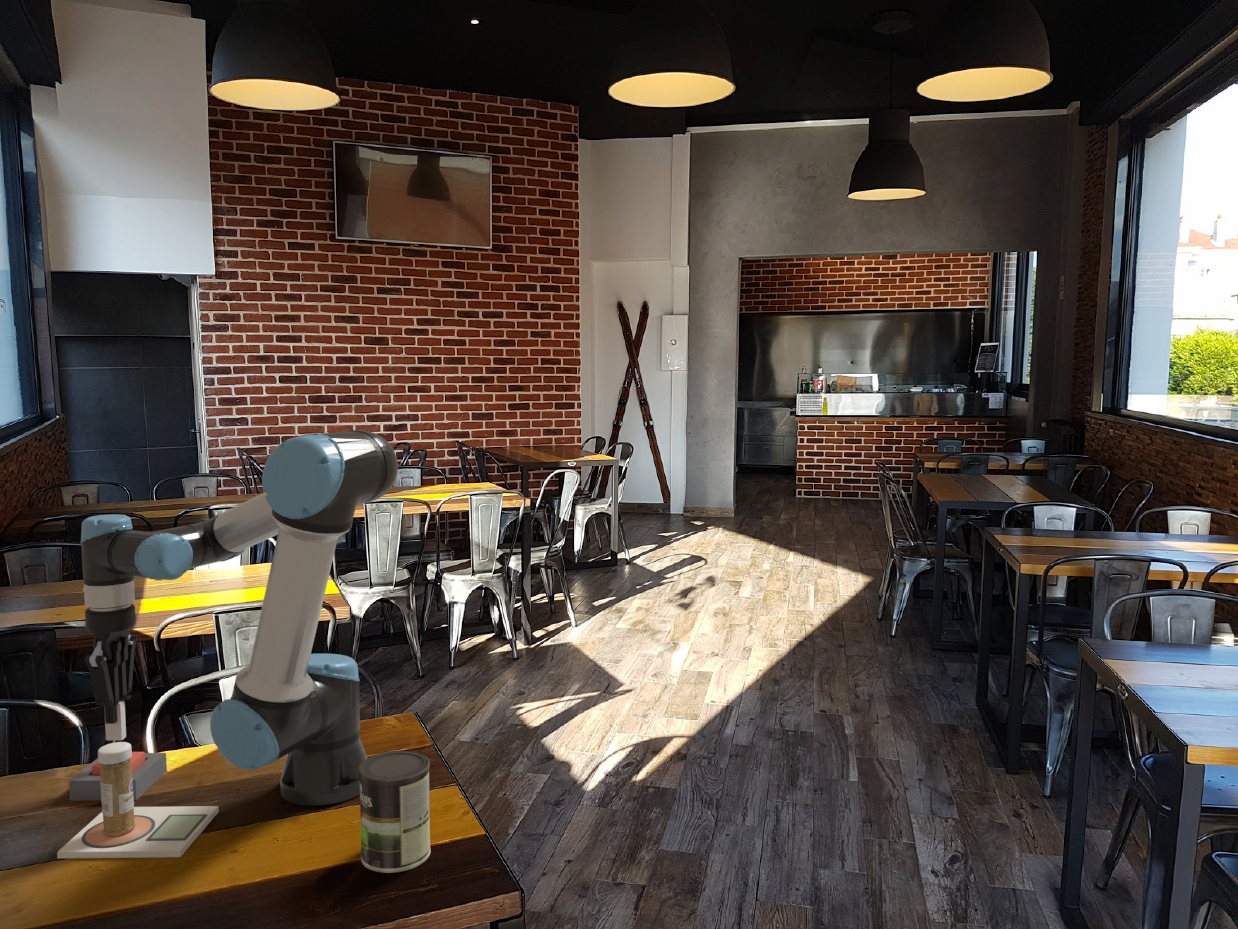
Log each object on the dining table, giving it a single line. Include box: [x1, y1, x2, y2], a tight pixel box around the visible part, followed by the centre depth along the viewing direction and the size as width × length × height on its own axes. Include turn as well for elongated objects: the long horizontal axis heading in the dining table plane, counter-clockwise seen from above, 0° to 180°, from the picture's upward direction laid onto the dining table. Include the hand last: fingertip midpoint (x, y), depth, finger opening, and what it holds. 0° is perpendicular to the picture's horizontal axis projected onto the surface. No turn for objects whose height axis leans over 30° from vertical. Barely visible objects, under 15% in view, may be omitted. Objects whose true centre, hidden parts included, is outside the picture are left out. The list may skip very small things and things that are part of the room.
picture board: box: [56, 805, 220, 859], centre depth 143 cm, size 18×14×1 cm
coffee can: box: [358, 750, 432, 874], centre depth 137 cm, size 10×10×14 cm
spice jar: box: [97, 741, 136, 836], centre depth 142 cm, size 5×5×14 cm
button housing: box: [68, 752, 168, 802], centre depth 160 cm, size 11×11×4 cm
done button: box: [92, 751, 146, 775], centre depth 160 cm, size 6×6×3 cm
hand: (116, 738), depth 159 cm, fingers closed
